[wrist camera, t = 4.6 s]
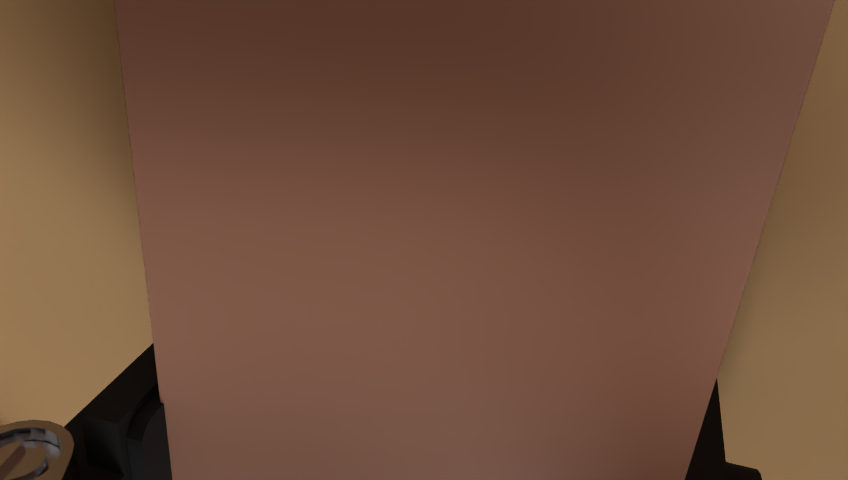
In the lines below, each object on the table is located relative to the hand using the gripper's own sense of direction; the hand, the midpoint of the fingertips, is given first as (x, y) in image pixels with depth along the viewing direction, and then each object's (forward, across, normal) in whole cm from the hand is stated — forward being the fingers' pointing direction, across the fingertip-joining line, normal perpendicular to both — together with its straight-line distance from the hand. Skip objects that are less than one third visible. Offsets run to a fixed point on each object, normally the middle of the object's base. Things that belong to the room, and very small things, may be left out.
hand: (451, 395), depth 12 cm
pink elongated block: (+1, 0, 0) cm, 1 cm away
